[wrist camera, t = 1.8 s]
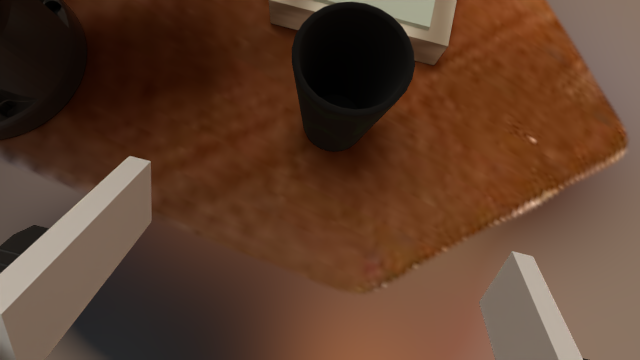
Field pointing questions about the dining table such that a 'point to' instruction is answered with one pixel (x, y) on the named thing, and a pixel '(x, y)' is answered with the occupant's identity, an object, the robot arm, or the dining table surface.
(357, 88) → the cup
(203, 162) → the dining table surface
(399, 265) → the dining table surface
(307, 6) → the stand
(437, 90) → the dining table surface
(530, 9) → the dining table surface
